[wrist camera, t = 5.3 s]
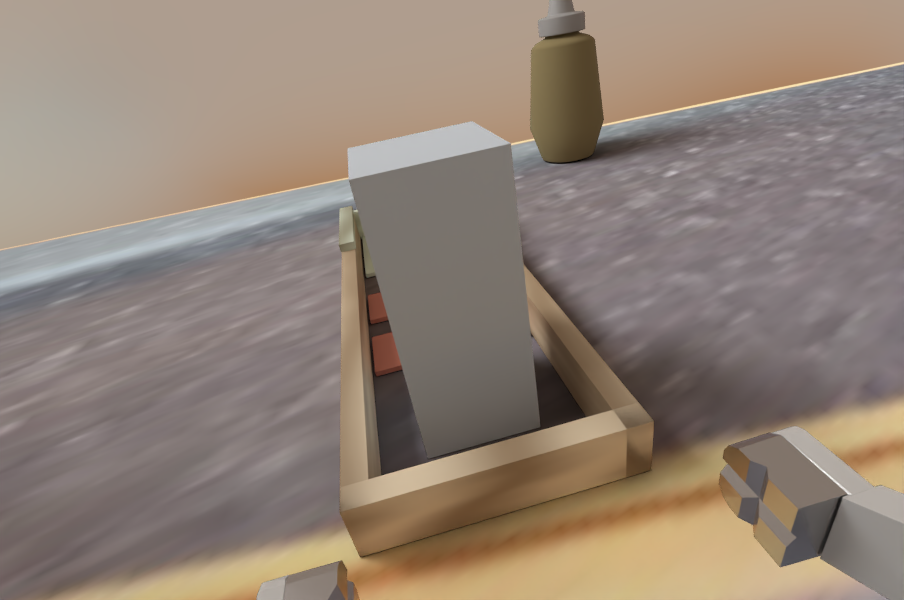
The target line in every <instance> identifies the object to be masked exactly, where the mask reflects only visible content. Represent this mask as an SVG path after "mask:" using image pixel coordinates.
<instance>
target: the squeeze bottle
mask: <svg viewBox="0 0 904 600" xmlns="http://www.w3.org/2000/svg"><path fill="white" fill-rule="evenodd" d="M538 28H539V37H545V39H543V40H542V41H541V42H539V43H537V44H536V45H535V46H534V47H533V48H532V50H531V111H530V114H531V115H530V116H531V117H530V120H531V121H530V129H531V132H532V134H533V137H534V139H535V142H536V144H537V146H538V149H539V151H540V154H541V156H542V158H543V160H545V161H548V162H571V161H576V160H580V159H583V158H587V157H589V156H591V155H592V154H593V153H594V150H595V147H596V144H597V140H598V137H599V134H600V130H601V127H602V123H603V120H604V118H603V109H602V100H601V91H600V82H599V73H598V64H597V56H596V46H595V39H594V38H593V37H592V36H590V35H588V34H584V33H580V32H579V31H580V30H583V29H585V12H584V11H574V8H573V4H572V0H550V1H549V10H548V16H547V17H545V18H543V19H540V20H538Z"/></svg>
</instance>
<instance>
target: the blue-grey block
mask: <svg viewBox="0 0 904 600" xmlns="http://www.w3.org/2000/svg"><path fill="white" fill-rule="evenodd" d="M348 170H349V171H348V172H349V182H350V186H351V189H352V193H353V196H354V200H355V203H356V207H357V211H358V214H359V218H360V221H361V225H362V228H363V232H364V235H365V239H366V242H367V246H368V249H369V253H370V256H371V260H372V263H373V267H374V270H375V274H376V278H377V281H378V285H379V288H380V292H381V295H382V299H383V302H384V306H385V309H386V313H387V316H388V320H389V323H390V327H391V330H392V334H393V337H394V341H395V345H396V348H397V352H398V355H399V359H400V362H401V366H402V369H403V373H404V376H405V380H406V383H407V387H408V390H409V394H410V397H411V401H412V405H413V408H414V412H415V415H416V419H417V422H418V426H419V429H420V433H421V436H422V440H423V443H424V447H425V450H426V454H427V457H428V459H430V458H433V457H437V456H440V455H444V454H447V453H451V452H454V451H458V450H461V449H465V448H468V447H472V446H476V445H479V444H483V443H486V442H490V441H493V440H497V439H500V438H504V437H507V436H511V435H514V434H518V433H521V432H525V431H528V430H532V429H535V428H539V427H541V425H540V416H539V406H538V397H537V388H536V378H535V369H534V359H533V350H532V340H531V331H530V321H529V312H528V303H527V293H526V284H525V274H524V265H523V255H522V246H521V236H520V227H519V218H518V208H517V199H516V189H515V180H514V170H513V161H512V151H511V143H509V142H507V141H505V140H504V139H502V138H500V137H498V136H497V135H495V134H493V133H491V132H490V131H488V130H486V129H484V128H483V127H481V126H479V125H478V124H476V123H474V122H472V121H471V122H467V123H463V124H458V125H453V126H449V127H444V128H439V129H435V130H430V131H426V132H421V133H416V134H412V135H407V136H403V137H398V138H394V139H389V140H384V141H380V142H375V143H371V144H366V145H362V146H357V147H352V148H348Z"/></svg>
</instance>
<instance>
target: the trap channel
mask: <svg viewBox="0 0 904 600" xmlns="http://www.w3.org/2000/svg"><path fill="white" fill-rule="evenodd" d="M361 239H362V241H363V252H364V262H365V272H366V277H367V278H369V277H373V276H376V274H375V270H374V267H373V263H372V260H371V256H370V253H369V249H368V246H367V242H366V239H365V235H364V232H363V228H362V225H361V221H360V218H359V214H358V211H357V210H353V208H352V206H349V207H344V208H340V221H339V247H340V250H341V252H342V300H341V411H340V514H341V517H342V519H343V521H344V523H345V525H346V527H347V530H348V532H349V534H350V536H351V538H352V541H353V543H354V545H355V547H356V549H357V551H358V554H359V556H360V557H363V556H366V555H369V554H373V553H376V552H379V551H383V550H386V549H389V548H393V547H396V546H399V545H403V544H406V543H409V542H413V541H416V540H419V539H423V538H426V537H429V536H433V535H436V534H439V533H443V532H446V531H449V530H453V529H456V528H459V527H463V526H466V525H469V524H473V523H476V522H479V521H483V520H486V519H489V518H493V517H496V516H499V515H503V514H506V513H509V512H513V511H516V510H519V509H523V508H526V507H530V506H533V505H536V504H540V503H543V502H546V501H550V500H553V499H556V498H560V497H563V496H566V495H570V494H573V493H576V492H580V491H583V490H586V489H590V488H593V487H596V486H600V485H603V484H606V483H610V482H613V481H616V480H620V479H623V478H626V477H630V476H633V475H636V474H640V473H643V472H646V471H650V470H651V464H652V447H653V430H654V421H653V419H652V418H651V417H650V416H649V415H648V413H647V412H646V411H645V410H644V409H643V407H642V406H641V405H640V404H639V403H638V401H637V400H636V399H635V398H634V397H633V395H632V394H631V393H630V392H629V391H628V389H627V388H626V387H625V386H624V385H623V383H622V382H621V381H620V380H619V379H618V377H617V376H616V375H615V374H614V373H613V371H612V370H611V369H610V368H609V366H608V365H607V364H606V363H605V362H604V360H603V359H602V358H601V357H600V356H599V354H598V353H597V352H596V351H595V350H594V348H593V347H592V346H591V345H590V344H589V342H588V341H587V340H586V339H585V338H584V336H583V335H582V334H581V333H580V332H579V330H578V329H577V328H576V327H575V326H574V324H573V323H572V322H571V321H570V320H569V318H568V317H567V316H566V315H565V313H564V312H563V311H562V310H561V309H560V307H559V306H558V305H557V304H556V303H555V301H554V300H553V299H552V298H551V297H550V295H549V294H548V293H547V292H546V291H545V289H544V288H543V287H542V286H541V285H540V283H539V282H538V281H537V280H536V279H535V277H534V276H533V275H532V274H531V273H530V271H529V270H528V269H527V268H526V267H525V265H524V264H523V265H524V274H525V284H526V293H527V303H528V312H529V321H530V331H531V334H532V335H533V337H534V338H535V340H536V341H537V343H538V344H539V346H540V347H541V349H542V350H543V352H544V353H545V355H546V356H547V358H548V359H549V361H550V362H551V364H552V366H553V367H554V369H555V370H556V372H557V373H558V375H559V376H560V378H561V379H562V381H563V382H564V384H565V385H566V387H567V388H568V390H569V391H570V393H571V394H572V396H573V397H574V399H575V401H576V402H577V404H578V405H579V407H580V408H581V410H582V411H583V413H584V414H585V416H586V418H582V419H578V420H575V421H571V422H568V423H564V424H561V425H557V426H554V427H550V428H547V429H543V430H540V431H536V432H533V433H529V434H526V435H522V436H519V437H515V438H512V439H508V440H505V441H501V442H498V443H494V444H491V445H487V446H484V447H480V448H477V449H473V450H470V451H466V452H463V453H459V454H456V455H452V456H449V457H445V458H442V459H438V460H435V461H431V462H428V463H424V464H421V465H417V466H413V467H410V468H406V469H403V470H399V471H396V472H392V473H389V474H385V475H381V464H380V452H379V441H378V430H377V418H376V407H375V396H374V384H373V373H372V362H371V350H370V339H369V328H368V316H367V305H366V294H365V282H364V271H363V260H362V248H361ZM368 303H369V314H370V322H371V324H375V323H379V322H383V321H387V320H388V316H387V313H386V309H385V306H384V302H383V299H382V295H381V292H379V293H375V294H371V295H368ZM372 345H373V355H374V365H375V373H376V376H380V375H384V374H388V373H391V372H395V371H399V370H403V369H402V366H401V362H400V359H399V355H398V352H397V348H396V345H395V341H394V337H393V334H392V332H390V333H386V334H382V335H378V336H375V337H372Z"/></svg>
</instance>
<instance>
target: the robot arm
mask: <svg viewBox="0 0 904 600" xmlns="http://www.w3.org/2000/svg"><path fill="white" fill-rule="evenodd" d="M723 459H724V460H725V461H726V462H727V463H728V464H727V465H726V466H725V467H724V469H723V470H722V471H721V472H720V479H719V485H720V488H721V492H722V495H723V497H724V499H725V501H726V502H727V504H728V506H729V507H730V508H731V510H732V511H733V512H734V513H735V514H736V516H737V517H738V518H740V519H742V520H744V521H746V522H748V523H750V524H752V525H753V531H754V537H755V538H756V540H757V541H758V542H759V543H760V544H761V546H762V547H763V548H764V549H765V550H766V551H767V553H768V554H769V555H770V556H771V557H772V559H773V560H774V561H775V562H776V563H777V564H778V566H779V567H783V566H787V565H790V564H794V563H797V562H800V561H804V560H807V559H811V558H814V557H818V556H821V557H820V559H822V560H823V561H825V562H827V563H828V564H830V565H832V566H833V567H835V568H837V569H839V570H840V571H842V572H844V573H845V574H847V575H849V576H850V577H852V578H854V579H855V580H857V581H859V582H860V583H862V584H864V585H865V586H867V587H869V588H870V589H872V590H874V591H875V592H877V593H879V594H880V595H882V596H884V597H885V598H887V599H889V600H904V494H903V493H900V492H898V491H895V490H893V489H890V488H887V487H885V486H882V485H879V486H875V487H874V486H872V485H871V484H870V483H869V482H868V481H866V480H865V479H864V478H863V477H862V476H860V475H859V474H858V473H857V472H855V471H854V470H853V469H852V468H851V467H849V466H848V465H847V464H846V463H845V462H843V461H842V460H841V459H840V458H838V457H837V456H836V455H835V454H834V453H832V452H831V451H830V450H829V449H828V448H826V447H825V446H824V445H823V444H821V443H820V442H819V441H818V440H817V439H815V438H814V437H813V436H812V435H810V434H809V433H808V432H807V431H806V430H804V429H802V428H800V427H797V426H793V427H788V428H785V429H782V430H779V431H775V432H772V433H767V434H763V435H760V436H757V437H754V438H751V439H748V440H744V441H741V442H738V443H735V444H732V445H729V446H728V447H727V448H726V449H724V454H723ZM256 600H360V599H359V596H358V592H357V589H356V587H355V585H354V583H353V582H350V581H348V580H347V568H346V567H345V565H344V563H343V561H342V560H341V561H338V562H334V563H331V564H327V565H324V566H320V567H317V568H313V569H310V570H306V571H303V572H299V573H296V574H292V575H287V576H284V577H281V578H277V579H274V580H271V581H267V582H264V583H262V584H261V587H260V589H259V591H258V594H257V599H256Z"/></svg>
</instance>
